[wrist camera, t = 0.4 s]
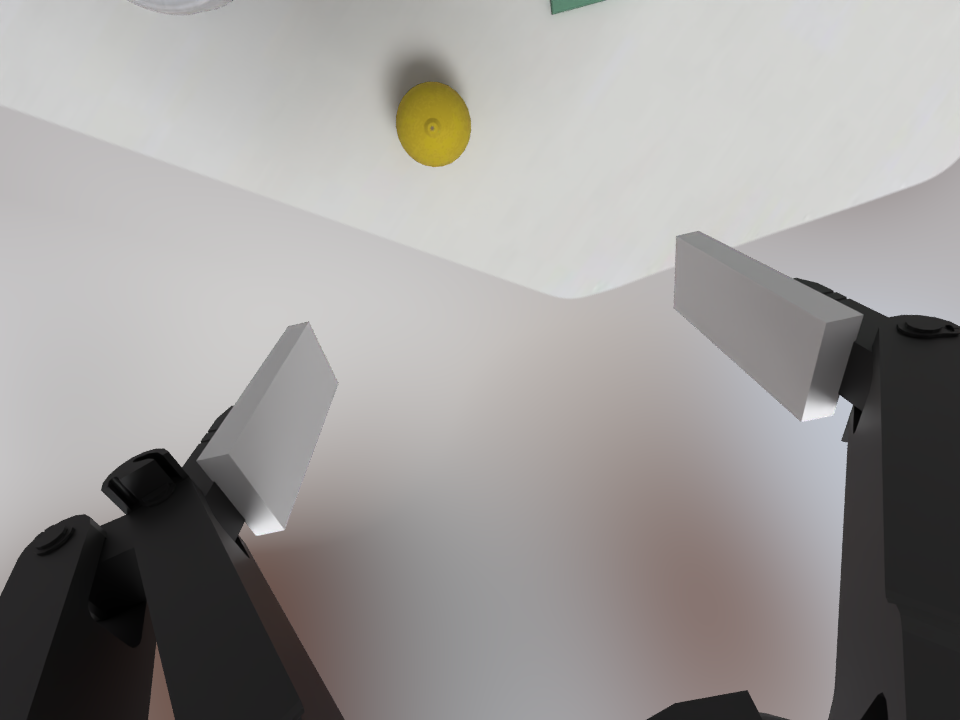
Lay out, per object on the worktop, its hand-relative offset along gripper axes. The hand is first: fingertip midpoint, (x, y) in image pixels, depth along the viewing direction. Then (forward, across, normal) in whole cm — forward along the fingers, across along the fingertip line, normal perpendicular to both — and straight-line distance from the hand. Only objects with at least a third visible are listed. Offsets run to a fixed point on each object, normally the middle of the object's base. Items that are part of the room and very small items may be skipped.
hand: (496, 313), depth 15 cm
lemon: (+27, -1, +5) cm, 27 cm away
